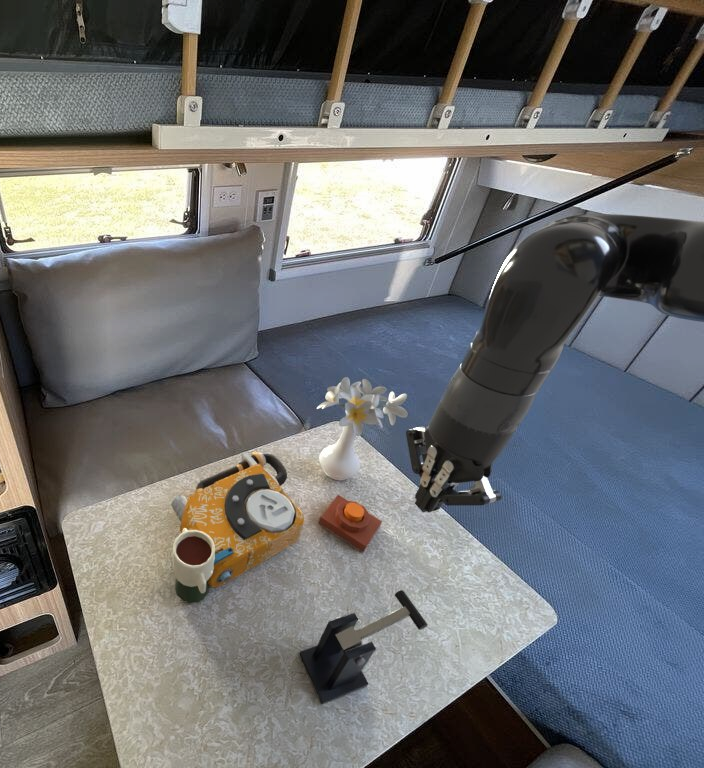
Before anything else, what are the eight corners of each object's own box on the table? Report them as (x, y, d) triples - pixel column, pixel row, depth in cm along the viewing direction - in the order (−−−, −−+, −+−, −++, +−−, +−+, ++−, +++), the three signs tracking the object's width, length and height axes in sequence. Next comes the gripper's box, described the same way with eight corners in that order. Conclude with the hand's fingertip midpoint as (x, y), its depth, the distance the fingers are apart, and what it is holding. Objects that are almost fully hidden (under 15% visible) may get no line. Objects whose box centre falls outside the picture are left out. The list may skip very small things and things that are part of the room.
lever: (402, 593, 61) (403, 587, 59) (427, 627, 57) (428, 622, 55) (331, 629, 60) (329, 624, 59) (350, 666, 56) (349, 661, 55)
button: (364, 514, 84) (367, 509, 83) (357, 525, 81) (359, 520, 80) (348, 504, 86) (350, 499, 85) (340, 515, 83) (342, 509, 82)
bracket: (340, 639, 68) (360, 602, 60) (366, 686, 62) (392, 652, 55) (298, 654, 66) (313, 618, 58) (321, 704, 60) (341, 672, 53)
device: (153, 483, 84) (269, 436, 95) (155, 508, 88) (264, 460, 100) (209, 577, 68) (339, 506, 79) (207, 601, 72) (330, 531, 84)
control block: (379, 527, 85) (384, 515, 83) (363, 552, 81) (368, 541, 78) (335, 500, 91) (339, 489, 88) (318, 522, 86) (322, 511, 84)
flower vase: (387, 481, 95) (424, 398, 81) (318, 498, 91) (345, 414, 76) (354, 444, 106) (382, 364, 91) (291, 457, 101) (310, 376, 86)
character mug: (220, 611, 71) (226, 571, 63) (182, 624, 69) (183, 585, 62) (200, 556, 79) (203, 515, 72) (165, 566, 78) (164, 526, 70)
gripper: (564, 442, 40) (486, 542, 51) (458, 371, 51) (411, 465, 61) (507, 458, 39) (438, 558, 49) (409, 380, 49) (369, 476, 59)
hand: (423, 506), depth 55 cm, fingers closed
